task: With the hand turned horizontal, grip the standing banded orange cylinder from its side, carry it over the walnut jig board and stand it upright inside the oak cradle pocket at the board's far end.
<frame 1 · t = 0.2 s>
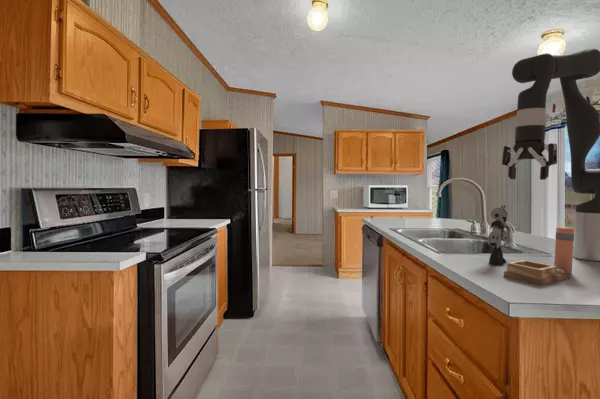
hand: (527, 179, 105), 29 cm above the countertop, tool pointing down, fingers open, 8 cm apart
jig: (536, 277, 102), on the countertop
banded orange cylinder: (562, 272, 107), on the countertop
robot: (497, 263, 119), on the countertop
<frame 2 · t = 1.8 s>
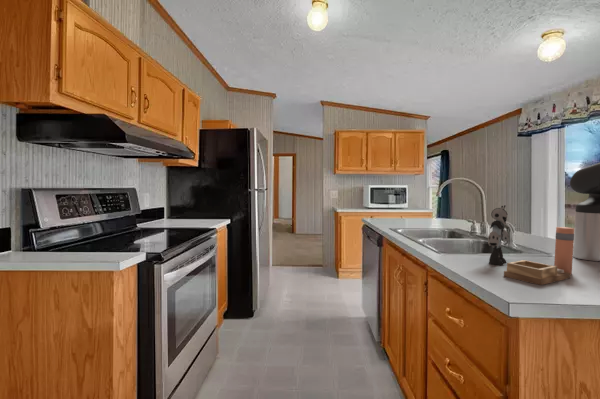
nothing on the countertop moved.
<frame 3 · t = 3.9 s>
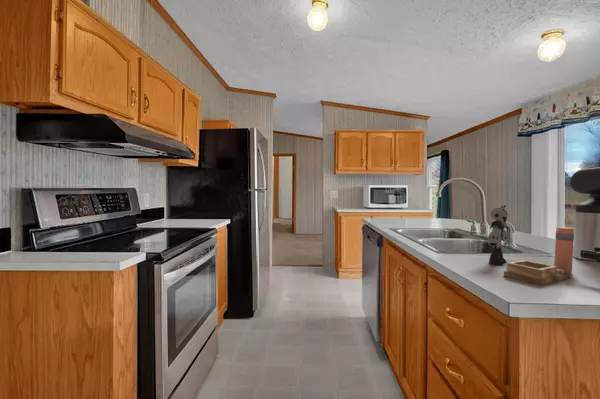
hand: (587, 252, 102), 8 cm above the countertop, tool horizontal, fingers open, 8 cm apart
nothing on the countertop moved.
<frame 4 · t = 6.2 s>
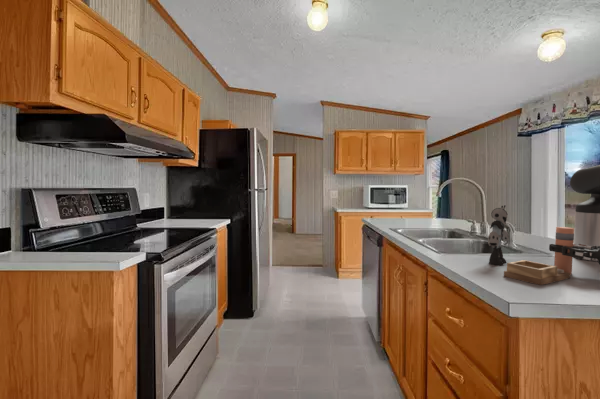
hand: (554, 246, 109), 8 cm above the countertop, tool horizontal, fingers closed on banded orange cylinder, 4 cm apart
banded orange cylinder: (562, 272, 107), on the countertop, touching gripper
everything else where it was.
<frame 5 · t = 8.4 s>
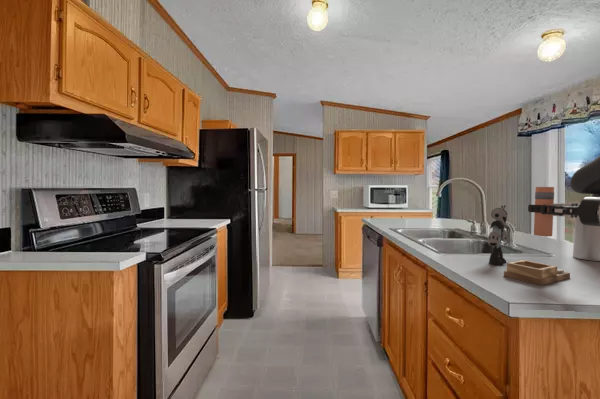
hand: (533, 208, 102), 20 cm above the countertop, tool horizontal, fingers closed on banded orange cylinder, 4 cm apart
banded orange cylinder: (542, 235, 100), point 13 cm above the countertop, touching gripper
everything else where it was.
when the fingers open (11 cm above the countertop, at t = 10.8 s): banded orange cylinder drops 1 cm, resting on jig.
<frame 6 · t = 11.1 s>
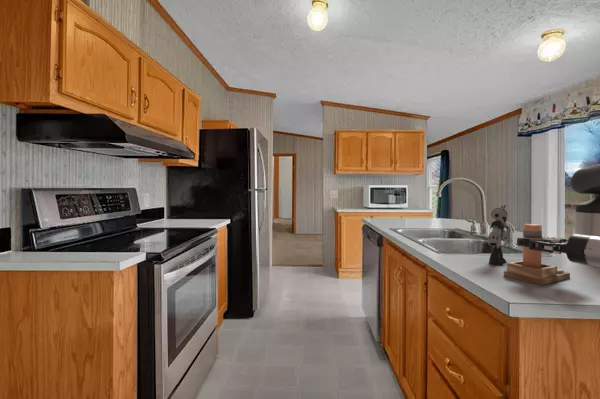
hand: (524, 240, 102), 11 cm above the countertop, tool horizontal, fingers open, 6 cm apart
banded orange cylinder: (531, 273, 100), point 2 cm above the countertop, touching jig
everything else where it was.
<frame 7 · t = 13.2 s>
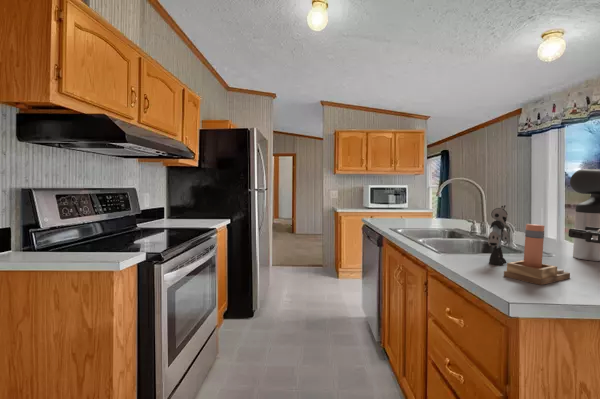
hand: (577, 231, 91), 15 cm above the countertop, tool horizontal, fingers open, 8 cm apart
nothing on the countertop moved.
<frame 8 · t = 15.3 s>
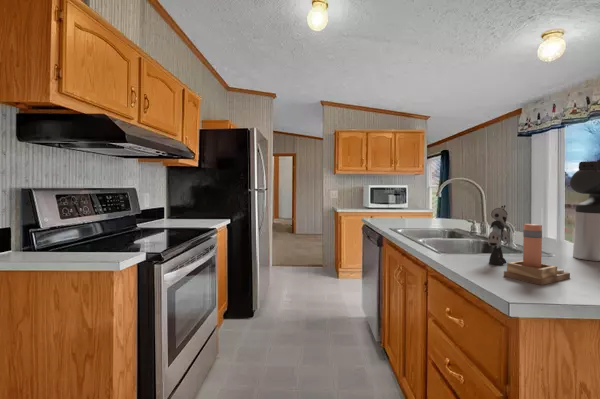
hand: (587, 166, 90), 32 cm above the countertop, tool horizontal, fingers open, 8 cm apart
nothing on the countertop moved.
at the end: banded orange cylinder 0.1 cm from the target spot on the jig, point 1.6 cm above the jig's base; banded orange cylinder tilted 2°; the gripper is holding nothing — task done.
